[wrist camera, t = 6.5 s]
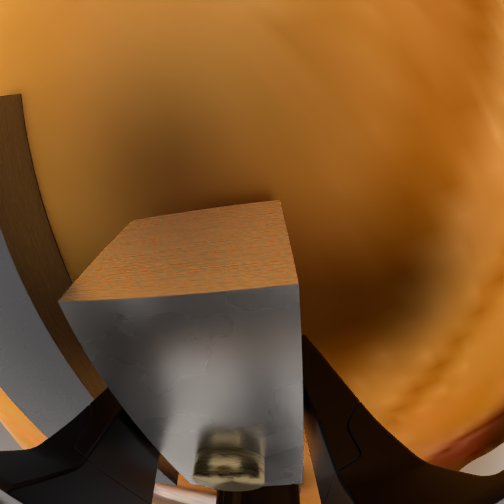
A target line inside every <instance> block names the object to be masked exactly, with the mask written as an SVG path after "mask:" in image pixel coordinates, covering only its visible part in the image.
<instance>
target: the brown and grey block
mask: <svg viewBox="0 0 504 504" xmlns="http://www.w3.org/2000/svg"><path fill="white" fill-rule="evenodd" d="M58 303H59V305H60V307H61V309H62V311H63V313H64V315H65V317H66V319H67V321H68V323H69V324H70V326H71V328H72V330H73V332H74V333H75V335H76V337H77V339H78V341H79V342H80V344H81V346H82V347H83V349H84V351H85V352H86V354H87V356H88V357H89V359H90V360H91V362H92V364H93V365H94V367H95V368H96V370H97V371H98V373H99V374H100V376H101V377H102V379H103V380H104V382H105V383H106V385H107V386H108V388H109V389H110V391H111V392H112V393H113V395H114V396H115V398H116V399H117V400H118V402H119V403H120V404H121V406H122V407H123V408H124V410H125V411H126V412H127V414H128V415H129V416H130V417H131V419H132V420H133V421H134V423H135V424H136V425H137V426H138V427H139V429H140V430H141V431H142V432H143V434H144V435H145V436H146V437H147V438H148V439H149V441H150V442H151V443H152V444H153V445H154V446H155V447H156V449H157V450H158V451H159V452H160V453H161V454H162V455H163V456H164V457H165V458H166V459H167V461H168V462H169V463H170V464H171V465H172V466H173V467H174V468H175V469H176V470H177V471H178V472H179V473H180V474H181V475H182V476H183V477H184V478H185V479H186V480H187V481H188V482H189V483H190V484H195V485H202V486H204V487H208V488H211V489H216V490H223V491H249V490H254V489H258V488H260V487H262V486H277V485H290V484H301V483H302V482H303V373H302V341H301V317H300V297H299V283H298V278H297V273H296V268H295V264H294V259H293V254H292V250H291V245H290V241H289V236H288V232H287V228H286V223H285V219H284V214H283V210H282V206H281V202H280V200H273V201H264V202H256V203H247V204H239V205H231V206H224V207H216V208H209V209H202V210H195V211H188V212H181V213H174V214H168V215H162V216H155V217H149V218H143V219H137V220H132V221H131V222H130V223H129V224H128V225H127V226H126V227H125V228H124V229H123V230H122V231H121V232H120V233H119V234H118V235H117V236H116V237H115V238H114V239H113V240H112V241H111V242H110V243H109V245H108V246H107V247H106V248H105V249H104V250H103V251H102V252H101V253H100V254H99V255H98V256H97V257H96V258H95V259H94V261H93V262H92V263H91V264H90V265H89V266H88V267H87V268H86V269H85V270H84V272H83V273H82V274H81V275H80V276H79V277H78V278H77V280H76V281H75V282H74V283H73V284H72V285H71V286H70V288H69V289H68V290H67V291H66V292H65V294H64V295H63V296H62V297H61V298H60V300H59V301H58Z"/></svg>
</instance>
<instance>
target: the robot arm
mask: <svg viewBox="0 0 504 504" xmlns="http://www.w3.org/2000/svg"><path fill="white" fill-rule="evenodd" d="M301 341H302V373H303V425H304V429H305V433H306V438H307V442H308V446H309V451H310V455H311V459H312V464H313V468H314V473H315V477H316V482H317V486H318V490H319V495H320V499H321V504H504V470H503V471H501V472H500V473H498V474H495V475H491V476H477V475H473V474H468V473H464V472H460V471H456V470H452V469H448V468H444V467H441V466H437V465H433V464H430V463H428V462H426V461H424V460H422V459H420V458H419V457H417V456H416V455H415V454H414V453H413V452H411V451H410V450H409V449H408V448H407V447H406V446H404V445H403V444H402V443H401V442H400V441H399V440H398V439H396V438H395V437H394V436H393V435H392V434H391V433H390V432H388V431H387V430H386V429H385V428H384V427H383V426H382V425H381V424H380V423H379V422H378V421H377V420H376V419H375V418H374V417H373V416H372V415H371V413H370V412H369V411H368V410H367V409H366V408H365V407H364V405H363V404H362V403H361V402H359V399H358V398H357V397H356V396H355V395H354V393H353V392H352V391H351V390H350V389H349V387H348V386H347V385H346V384H345V383H344V381H343V380H342V379H341V378H340V376H339V375H338V374H337V373H336V372H335V370H334V369H333V368H332V367H331V366H330V364H329V363H328V362H327V361H326V359H325V358H324V357H323V356H322V355H321V353H320V352H319V351H318V350H317V348H316V347H315V346H314V345H313V344H312V342H311V341H310V340H309V339H308V337H307V336H306V335H304V334H302V335H301ZM159 456H160V452H159V451H158V450H157V449H156V447H155V446H154V445H153V444H152V443H151V442H150V441H149V439H148V438H147V437H146V436H145V435H144V434H143V432H142V431H141V430H140V429H139V427H138V426H137V425H136V424H135V423H134V421H133V420H132V419H131V417H130V416H129V415H128V414H127V412H126V411H125V410H124V408H123V407H122V406H121V404H120V403H119V402H118V400H117V399H116V398H115V396H114V395H113V393H112V392H111V391H110V389H109V388H108V387H107V388H106V389H105V390H104V391H103V392H102V393H101V394H100V395H99V396H98V397H97V398H95V399H94V400H93V401H92V402H91V403H90V405H88V406H87V407H86V408H85V409H84V410H83V411H81V412H80V413H79V414H78V415H77V416H76V417H75V418H74V419H73V420H71V421H70V422H69V423H68V424H66V425H65V426H64V427H63V428H61V429H60V430H59V431H57V432H56V433H55V434H53V435H52V436H51V437H49V438H48V439H47V440H46V441H44V442H43V443H41V444H40V445H38V446H36V447H34V448H31V449H27V450H15V451H0V504H152V498H153V491H154V485H155V479H156V473H157V467H158V462H159ZM216 504H300V484H290V485H277V486H262V487H260V488H258V489H254V490H249V491H223V490H217V499H216Z"/></svg>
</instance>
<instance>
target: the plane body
mask: <svg viewBox="0 0 504 504" xmlns="http://www.w3.org/2000/svg"><path fill="white" fill-rule="evenodd" d="M71 285H72V282H71V280H70V278H69V275H68V273H67V271H66V268H65V266H64V263H63V261H62V258H61V256H60V253H59V250H58V248H57V245H56V242H55V240H54V237H53V234H52V231H51V228H50V225H49V222H48V219H47V216H46V213H45V210H44V206H43V203H42V200H41V196H40V193H39V189H38V185H37V182H36V178H35V174H34V170H33V165H32V161H31V156H30V152H29V147H28V142H27V136H26V130H25V124H24V118H23V111H22V103H21V94H17V95H7V96H0V387H1V388H2V389H3V391H4V392H5V393H6V394H7V395H8V397H9V398H10V399H11V400H12V401H13V402H14V404H15V405H16V406H17V407H18V408H19V409H20V410H21V411H22V412H23V413H24V414H25V415H26V417H27V418H28V419H29V420H30V421H31V422H32V423H33V424H34V425H35V426H36V427H37V428H38V429H39V430H40V431H41V432H42V433H44V434H45V435H46V436H47V437H48V438H49V437H51V436H52V435H53V434H55V433H56V432H57V431H59V430H60V429H61V428H63V427H64V426H65V425H66V424H68V423H69V422H70V421H71V420H73V419H74V418H75V417H76V416H77V415H78V414H79V413H80V412H81V411H83V410H84V409H85V408H86V407H87V406H88V405H90V403H91V402H92V401H93V400H94V399H95V398H97V397H98V396H99V395H100V394H101V393H102V392H103V391H104V390H105V389H106V388H107V387H108V386H107V385H106V383H105V382H104V380H103V379H102V377H101V376H100V374H99V373H98V371H97V370H96V368H95V367H94V365H93V364H92V362H91V360H90V359H89V357H88V356H87V354H86V352H85V351H84V349H83V347H82V346H81V344H80V342H79V341H78V339H77V337H76V335H75V333H74V332H73V330H72V328H71V326H70V324H69V323H68V321H67V319H66V317H65V315H64V313H63V311H62V309H61V307H60V305H59V303H58V301H59V300H60V298H61V297H62V296H63V295H64V294H65V292H66V291H67V290H68V289H69V288H70V286H71ZM178 474H179V472H178V471H177V470H176V469H175V468H174V467H173V466H172V465H171V464H170V463H169V462H168V461H167V459H166V458H165V457H164V456H163V455H162V454H161V453H160V456H159V462H158V467H157V473H156V479H155V483H162V484H169V485H177V480H178Z"/></svg>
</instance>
